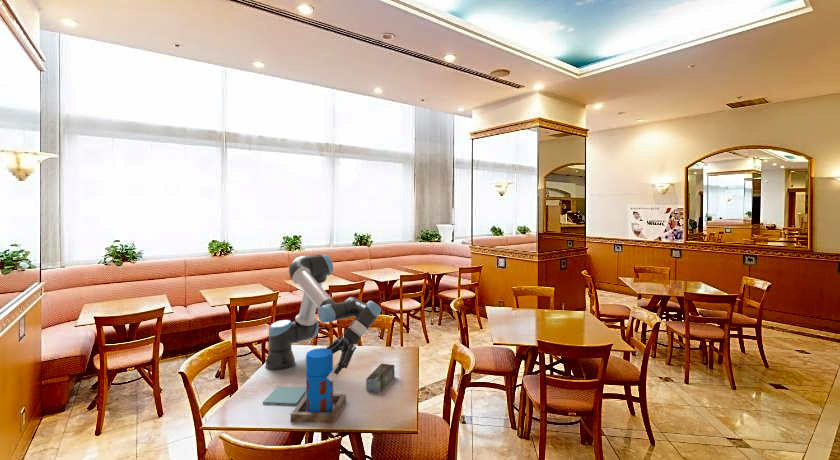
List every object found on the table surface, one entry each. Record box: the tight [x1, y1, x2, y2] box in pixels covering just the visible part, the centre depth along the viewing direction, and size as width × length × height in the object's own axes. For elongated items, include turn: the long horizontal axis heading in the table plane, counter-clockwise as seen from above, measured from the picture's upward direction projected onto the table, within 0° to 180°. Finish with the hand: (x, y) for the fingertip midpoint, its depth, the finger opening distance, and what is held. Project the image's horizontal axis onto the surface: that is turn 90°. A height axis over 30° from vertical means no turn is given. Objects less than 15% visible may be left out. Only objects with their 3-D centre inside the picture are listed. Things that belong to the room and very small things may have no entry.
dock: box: [290, 393, 347, 424], centre depth 161 cm, size 18×18×3 cm
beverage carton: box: [365, 363, 395, 393], centre depth 188 cm, size 8×19×7 cm, turn 163°
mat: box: [262, 385, 306, 406], centre depth 173 cm, size 15×15×1 cm
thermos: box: [305, 347, 334, 413], centre depth 160 cm, size 11×11×25 cm
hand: (322, 374), depth 160 cm, fingers open, 13 cm apart
